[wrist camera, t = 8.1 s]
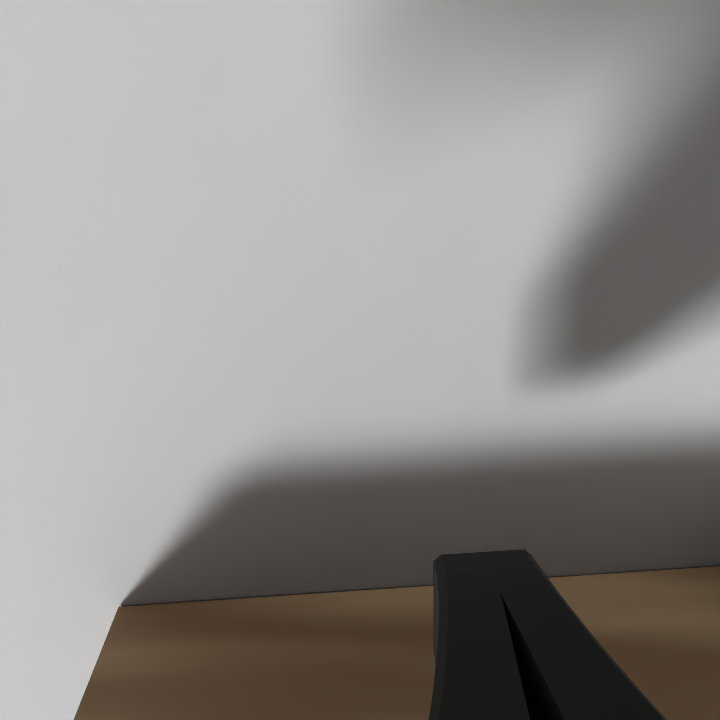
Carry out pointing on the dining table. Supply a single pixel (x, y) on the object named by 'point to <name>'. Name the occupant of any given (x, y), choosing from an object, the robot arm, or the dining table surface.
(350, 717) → the brown wooden rack
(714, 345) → the dining table surface
